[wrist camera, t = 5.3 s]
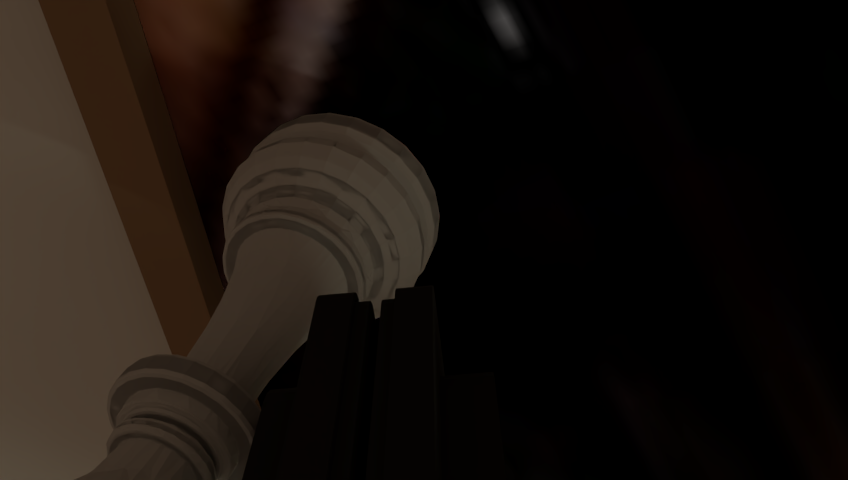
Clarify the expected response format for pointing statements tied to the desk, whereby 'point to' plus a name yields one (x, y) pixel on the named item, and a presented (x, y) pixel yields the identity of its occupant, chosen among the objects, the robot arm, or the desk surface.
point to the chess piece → (274, 290)
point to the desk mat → (87, 230)
